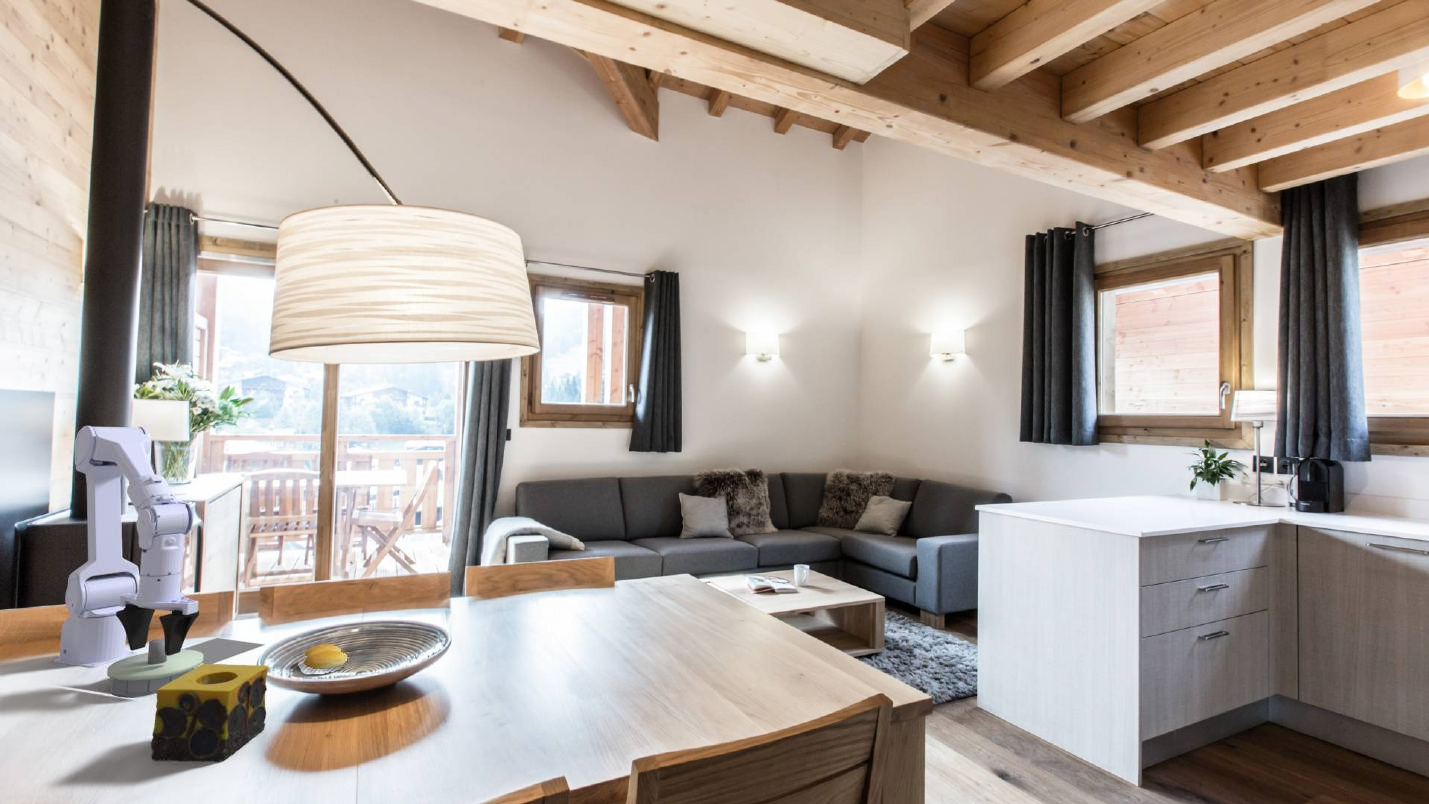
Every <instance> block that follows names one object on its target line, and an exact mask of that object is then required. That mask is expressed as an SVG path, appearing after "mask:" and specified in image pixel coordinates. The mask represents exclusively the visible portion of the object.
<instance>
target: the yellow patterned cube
mask: <svg viewBox="0 0 1429 804" xmlns="http://www.w3.org/2000/svg"><path fill="white" fill-rule="evenodd" d="M268 672H269V666H268V665H266V664H265V665H262V664H261V665H259V664H258V665H257V664H256V665H254V664H253V665H251V664H250V665H249V664H226V663H225V664H224V663H214V664H204V663H201V664H200V665H199V666H197V667H196V668H194V669H193V670H191V671H189V672H188V673H186V674H184V675H183V676H181V677H179V678H177V679H175V680H173V681H172V682H170V683H168V684H166V685H164V686H163V687H161V688H159V689H158V690H157V693H156V705H155V707H156V709H155V710H156V711H155V716H154V725H153V731H152V735H151V736H152V739H151V742H150V747H151V751H152V752H151V760H153V761H174V762H175V761H176V762H177V761H178V762H206V761H208V762H210V761H211V762H224V761H225V760H227V759H229V758H230V757H231V756H233V755H234V754H236V753H237V751H239V750H240V749H242V748H243V747H244V746H245V745H247V744H248V743H249V742H251V741H252V740H253V739H254V738H255V737H257V736H258V735H259V734H260V733H262V732H263V731H264V730H265V729H266V728H265V727H266V722H265V721H266V717H267V709H266V692H267V690H268V688H267V676H268Z"/></svg>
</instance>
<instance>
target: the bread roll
mask: <svg viewBox="0 0 1429 804" xmlns="http://www.w3.org/2000/svg"><path fill="white" fill-rule="evenodd" d="M341 650H342V649H341V648H340V647H338V646H337V645H334V644H328V643H327V644H326V643H325V644H317V645H314V646H312V647H310V648H308V649H307V650H305V652H306V653H305V655H306V656H307V659H306V660H305V661H304V664H305V665H306V666H307V667H311V668H313V669H330V668H335V667H339V666H341V665H343V664H344V663H345V662H346V661H347V658H348V659H349V656H348V655H347V654H346V653H345V652H344V651H343V652H344V653H343V652H341ZM347 656H348V657H347Z"/></svg>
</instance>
